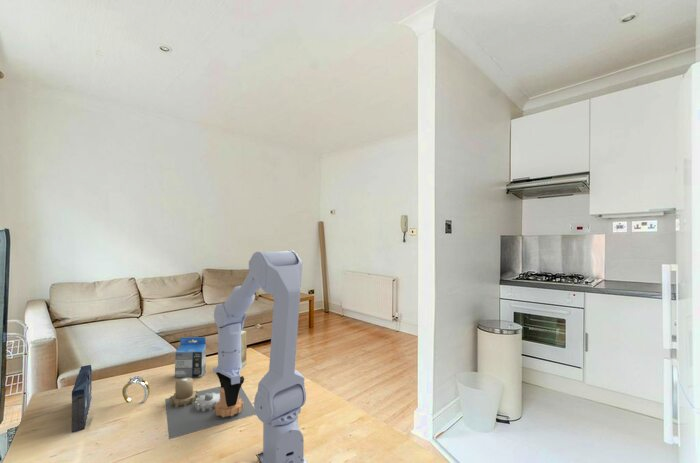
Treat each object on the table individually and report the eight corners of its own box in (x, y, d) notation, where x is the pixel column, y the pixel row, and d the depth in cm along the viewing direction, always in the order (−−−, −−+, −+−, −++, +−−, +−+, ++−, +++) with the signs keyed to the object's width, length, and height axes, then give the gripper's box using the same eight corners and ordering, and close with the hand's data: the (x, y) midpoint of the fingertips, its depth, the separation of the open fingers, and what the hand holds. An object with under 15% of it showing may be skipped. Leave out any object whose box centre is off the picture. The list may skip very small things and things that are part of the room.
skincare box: (237, 371, 114) (237, 335, 114) (226, 370, 115) (226, 335, 115) (247, 363, 120) (247, 330, 120) (236, 362, 121) (236, 329, 121)
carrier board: (257, 418, 85) (257, 391, 85) (169, 444, 74) (169, 413, 74) (238, 386, 103) (238, 363, 103) (165, 403, 92) (165, 378, 92)
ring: (119, 408, 90) (120, 378, 90) (129, 402, 93) (129, 373, 93) (142, 410, 89) (143, 380, 89) (151, 403, 92) (151, 375, 92)
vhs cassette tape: (80, 400, 94) (80, 365, 94) (93, 398, 95) (94, 363, 95) (68, 434, 78) (69, 392, 78) (84, 430, 80) (84, 389, 80)
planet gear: (246, 412, 84) (246, 390, 85) (217, 419, 81) (217, 397, 81) (239, 400, 90) (239, 380, 90) (213, 407, 87) (213, 386, 87)
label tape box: (174, 378, 108) (174, 341, 108) (179, 373, 112) (179, 337, 112) (201, 377, 109) (201, 340, 109) (206, 372, 113) (206, 336, 113)
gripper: (208, 343, 90) (208, 393, 90) (218, 361, 78) (218, 418, 77) (235, 339, 94) (235, 387, 93) (248, 355, 81) (248, 410, 81)
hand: (229, 401), depth 86 cm, fingers closed on planet gear, 4 cm apart
